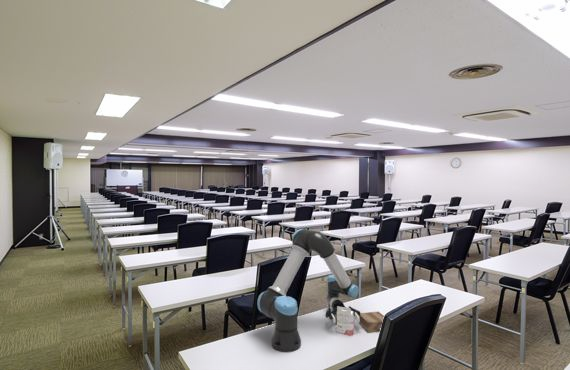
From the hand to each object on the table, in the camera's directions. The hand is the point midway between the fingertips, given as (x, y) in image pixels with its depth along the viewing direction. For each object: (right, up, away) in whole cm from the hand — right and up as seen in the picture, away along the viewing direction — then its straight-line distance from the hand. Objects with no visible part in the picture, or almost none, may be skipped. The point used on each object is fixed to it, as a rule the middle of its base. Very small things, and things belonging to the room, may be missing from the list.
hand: (346, 320), depth 176 cm
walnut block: (+17, -8, +10) cm, 21 cm away
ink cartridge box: (0, -8, +3) cm, 9 cm away
